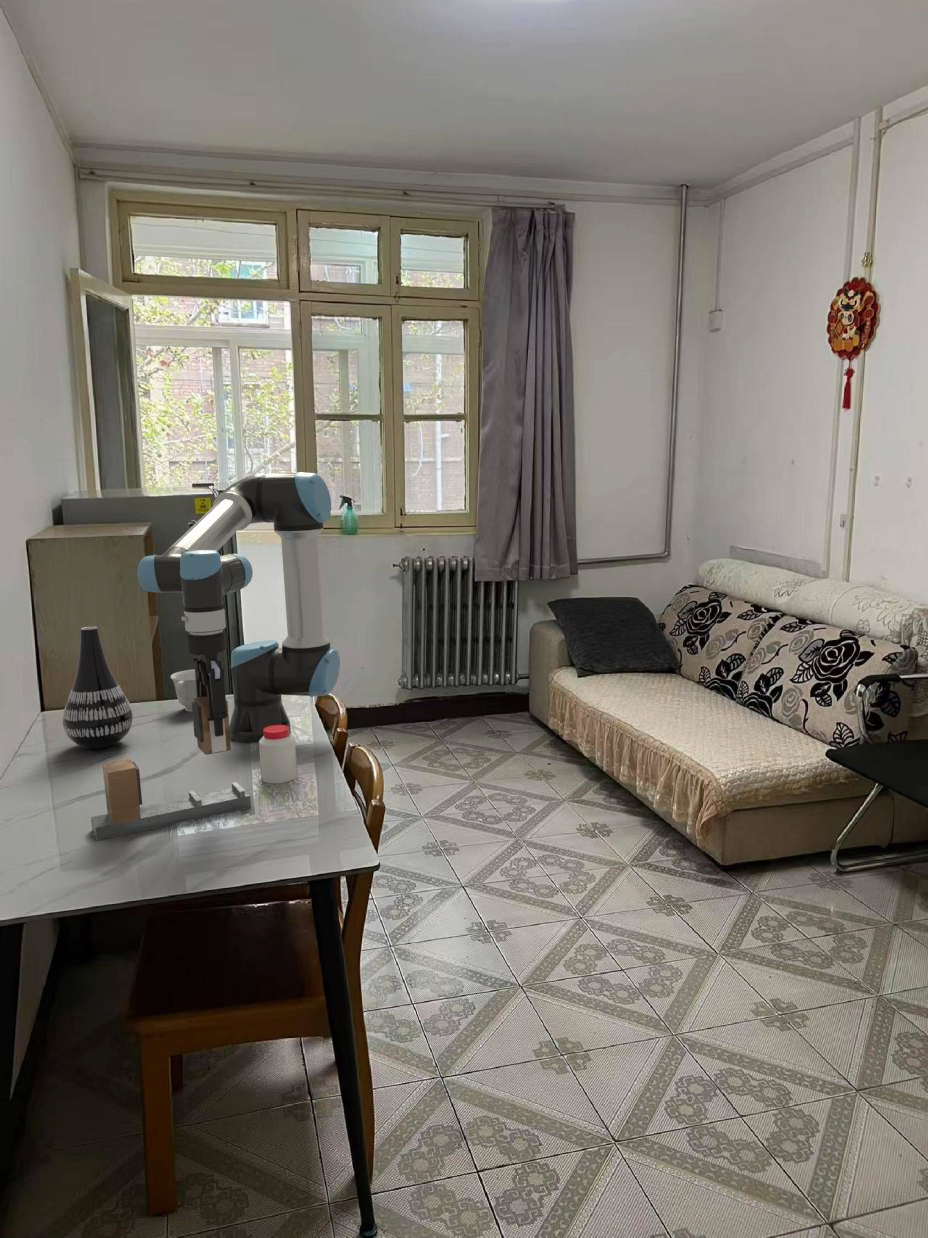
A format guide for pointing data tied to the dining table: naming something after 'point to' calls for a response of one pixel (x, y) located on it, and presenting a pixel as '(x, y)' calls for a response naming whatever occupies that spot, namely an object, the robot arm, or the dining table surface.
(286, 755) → the pill bottle
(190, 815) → the rail
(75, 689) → the vase
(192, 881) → the dining table surface
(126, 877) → the dining table surface
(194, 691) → the teacup
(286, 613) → the robot arm
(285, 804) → the dining table surface
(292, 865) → the dining table surface
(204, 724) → the brown wooden block
